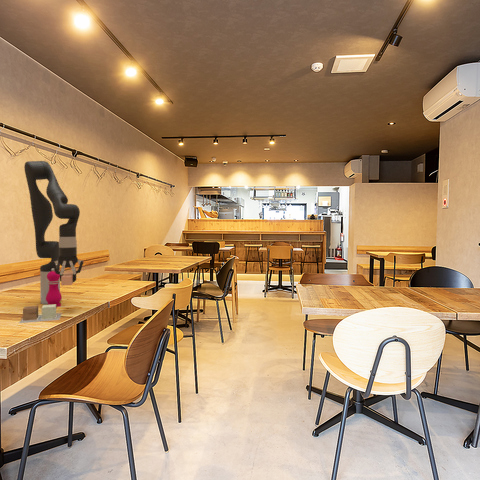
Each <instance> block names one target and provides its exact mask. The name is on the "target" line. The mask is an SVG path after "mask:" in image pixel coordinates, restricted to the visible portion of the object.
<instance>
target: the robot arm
mask: <svg viewBox="0 0 480 480" xmlns="http://www.w3.org/2000/svg"><path fill="white" fill-rule="evenodd" d="M24 174H25V178H26V179H25V180H26V183H27V187H28V193H29V198H30V208H31V213H32V220H33V221H32V222H33V227H34V239H35V251H36V255H37V257H38V258H40V259H50V261H49V262H48V263H45V264H42V265H40V267H39V272H40V275H39V276H40V277H39V279H40V280H39V281H40V287H39V289H40V304H42V305H47V304H48V302H47V301H46V296H47V293H48V291H49V284H48V281H49V280H48V279H47V274H48V273H49V272H51V271H52V268H54V270H55V273H56V274H59V275H60V278H59V283H58V289H59V291H60V292H61V277H62V276H63V275H64V274H65V273H64V271H65V269H67V268H69V269H71V272H72V273H73V283H75V282H76V281H77V274H80V273H81V272H82V271H81V270H82V268H83V264H84V260H81V259H78V255H77V254H78V251H77V249H78V244H77V225H78V221H79V219H80V215H81V213H80V208H79V206H78V205H76V204H73V203H69V199H68V197H67V195H66V194H65V192H64V190H63V189H62V188H61V186H60V185H59V181H58V179H57V178H56V175H55V172H54V169H53V168H52V167H51V165H50V163H49V162H48V161H46V160H36V161H35V160H34V161H33V160H30V161H25V163H24ZM41 180H46V181H48V183H47V186H46V190H45V191H46V196H47V197H48V198H47V197H46V196H45V195H44V194H43V193H42V191H41V190H40V188H39V186H38V184H37V181H41ZM51 203H52V204H51ZM53 212H54V215H55V216H56V218H58V219H61V220H62V219H63V220H67V222H66V223H62V224H60V225H59V227H58V228H59V229H58V230H59V232H58V234H59V237H58V238H59V239H58V241H56V240H52V241H51V240H46V239H45V237H46V236H45V234H46V232H47V230H48V227H49V226H50V224H51V223H52V221H53V218H54V215H53ZM77 263H78V265H79V266H78V269H77V270H76V266H75V265H76V264H77ZM60 267H61V268H60Z"/></svg>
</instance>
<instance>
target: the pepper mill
mask: <svg viewBox="0 0 480 480" xmlns="http://www.w3.org/2000/svg"><path fill="white" fill-rule="evenodd" d="M59 278H60V275H59V274H56V273H55V270H54V268H52V271H51V272H49V273H48V274H47V279H48V280H49V281H48V284H49V291H48V293H47V296H46V301H47V302H48V304H46V305H52V304H56V308H60V307H62V303H61V301H62V299H63V298H62V297H63V296H62V293H61V290H60V291H59V289H58V283H59Z"/></svg>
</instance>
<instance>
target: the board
mask: <svg viewBox="0 0 480 480" xmlns="http://www.w3.org/2000/svg"><path fill="white" fill-rule="evenodd" d="M62 314H63V313H62V312H59V313H57V312H56V317H55V318H49V319H42V314H38V318H37V320H26V321H23V317H22V318H21V319H20V321H19V322H18V324H25V323H27V324H28V323H37V322H48V321H50V322H51V321H58V320H59V321H60V319H61V317H62Z"/></svg>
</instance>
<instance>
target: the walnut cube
mask: <svg viewBox="0 0 480 480" xmlns="http://www.w3.org/2000/svg"><path fill="white" fill-rule="evenodd" d="M38 315H39V305H29V306H24V307H23V308H22V318H23V321H26V320H37V318H38Z"/></svg>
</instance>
